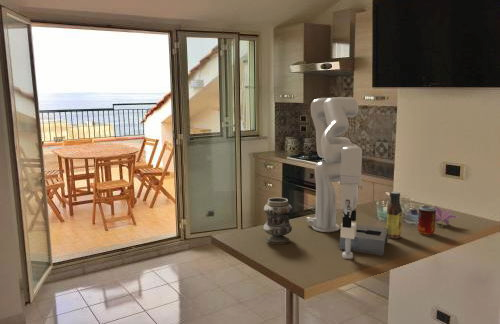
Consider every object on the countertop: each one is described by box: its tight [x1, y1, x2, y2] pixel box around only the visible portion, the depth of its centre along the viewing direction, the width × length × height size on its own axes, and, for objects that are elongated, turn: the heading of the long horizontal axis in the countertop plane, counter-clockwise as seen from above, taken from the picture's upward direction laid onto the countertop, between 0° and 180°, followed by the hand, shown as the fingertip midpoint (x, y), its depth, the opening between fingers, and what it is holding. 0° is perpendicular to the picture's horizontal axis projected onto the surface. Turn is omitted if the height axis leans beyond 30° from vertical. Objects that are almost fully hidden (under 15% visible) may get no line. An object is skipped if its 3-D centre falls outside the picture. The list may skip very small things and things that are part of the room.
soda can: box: [417, 205, 436, 237], centre depth 191 cm, size 7×7×12 cm
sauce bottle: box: [385, 191, 403, 240], centre depth 187 cm, size 7×6×20 cm
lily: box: [434, 205, 459, 229], centre depth 203 cm, size 12×12×10 cm
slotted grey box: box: [339, 224, 389, 256], centre depth 177 cm, size 17×16×6 cm
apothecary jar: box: [263, 197, 293, 245], centre depth 183 cm, size 12×12×18 cm
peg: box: [339, 221, 358, 260], centre depth 165 cm, size 5×5×14 cm
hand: (349, 223), depth 163 cm, fingers open, 9 cm apart
